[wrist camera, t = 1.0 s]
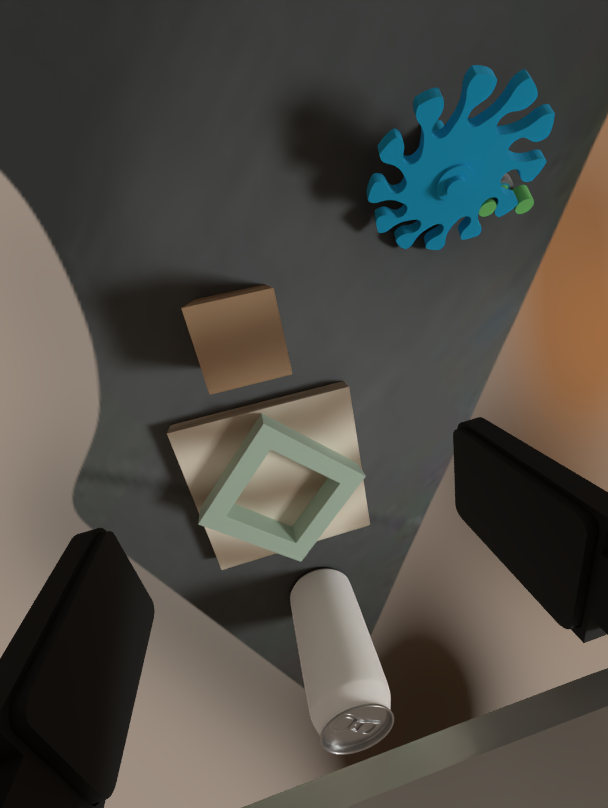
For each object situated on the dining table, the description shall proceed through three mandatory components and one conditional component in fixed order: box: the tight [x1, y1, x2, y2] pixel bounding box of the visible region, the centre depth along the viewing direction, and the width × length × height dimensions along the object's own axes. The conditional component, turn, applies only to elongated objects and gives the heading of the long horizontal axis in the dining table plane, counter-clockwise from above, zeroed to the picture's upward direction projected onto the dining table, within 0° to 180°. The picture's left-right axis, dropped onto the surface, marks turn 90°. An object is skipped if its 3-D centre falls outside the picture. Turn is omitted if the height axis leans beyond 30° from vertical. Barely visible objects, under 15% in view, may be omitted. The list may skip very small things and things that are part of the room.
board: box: [167, 381, 370, 570], centre depth 29 cm, size 14×14×2 cm
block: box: [181, 284, 292, 395], centre depth 22 cm, size 5×5×6 cm
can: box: [290, 568, 394, 754], centre depth 30 cm, size 6×6×12 cm
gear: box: [366, 65, 555, 250], centre depth 21 cm, size 11×6×10 cm
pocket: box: [198, 413, 366, 562], centre depth 27 cm, size 10×10×2 cm
